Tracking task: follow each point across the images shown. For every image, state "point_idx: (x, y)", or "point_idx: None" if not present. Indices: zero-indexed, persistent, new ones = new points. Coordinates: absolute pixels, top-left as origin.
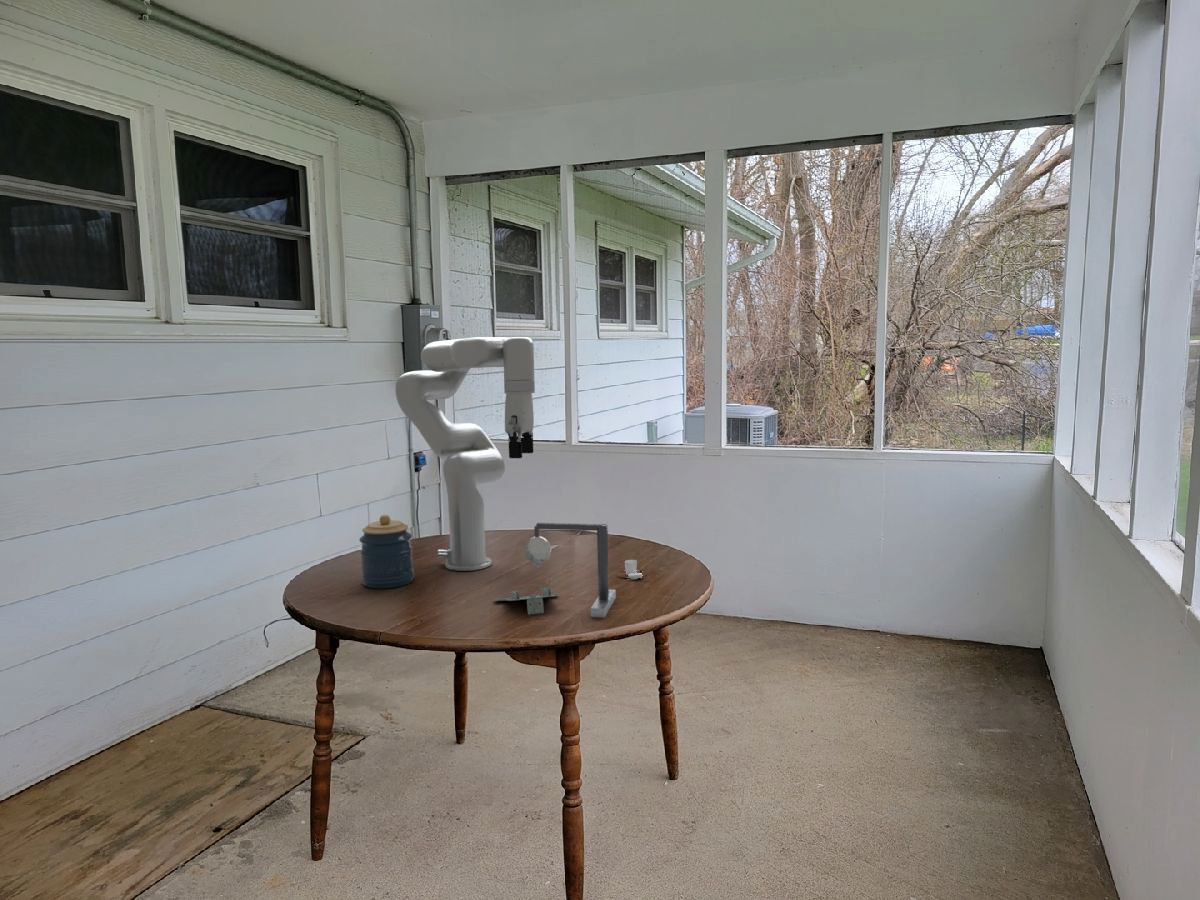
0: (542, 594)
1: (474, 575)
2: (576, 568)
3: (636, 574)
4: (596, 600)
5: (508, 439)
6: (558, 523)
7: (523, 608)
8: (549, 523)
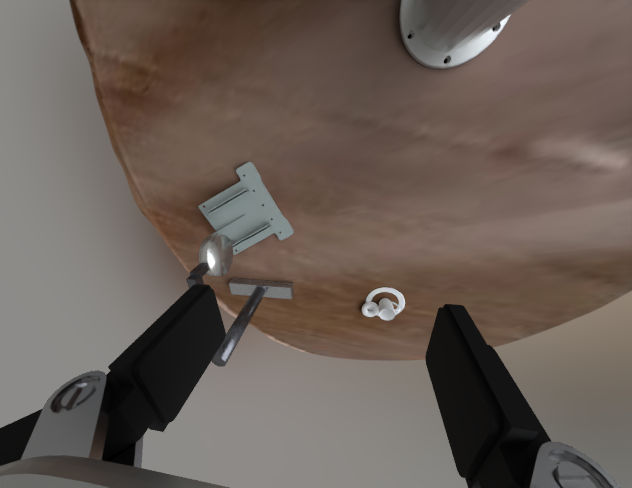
0: (263, 225)
1: (372, 63)
2: (419, 236)
3: (363, 312)
4: (252, 285)
5: (52, 396)
6: None
7: None
8: None
